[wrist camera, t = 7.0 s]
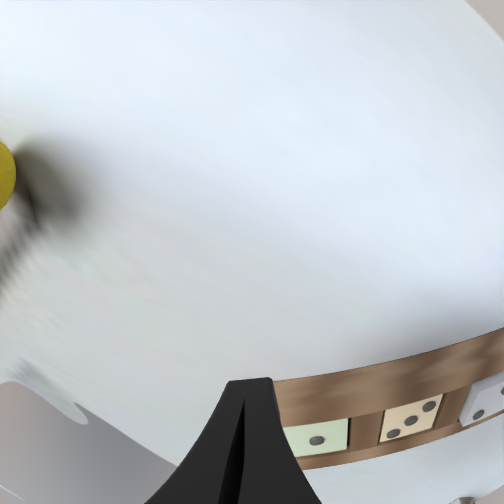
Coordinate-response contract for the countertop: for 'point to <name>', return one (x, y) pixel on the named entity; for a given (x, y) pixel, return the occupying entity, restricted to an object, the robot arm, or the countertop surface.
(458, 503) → the coffee box
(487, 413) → the button two
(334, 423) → the button one
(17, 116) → the countertop surface
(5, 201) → the lemon
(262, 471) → the robot arm
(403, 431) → the button three
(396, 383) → the frame
